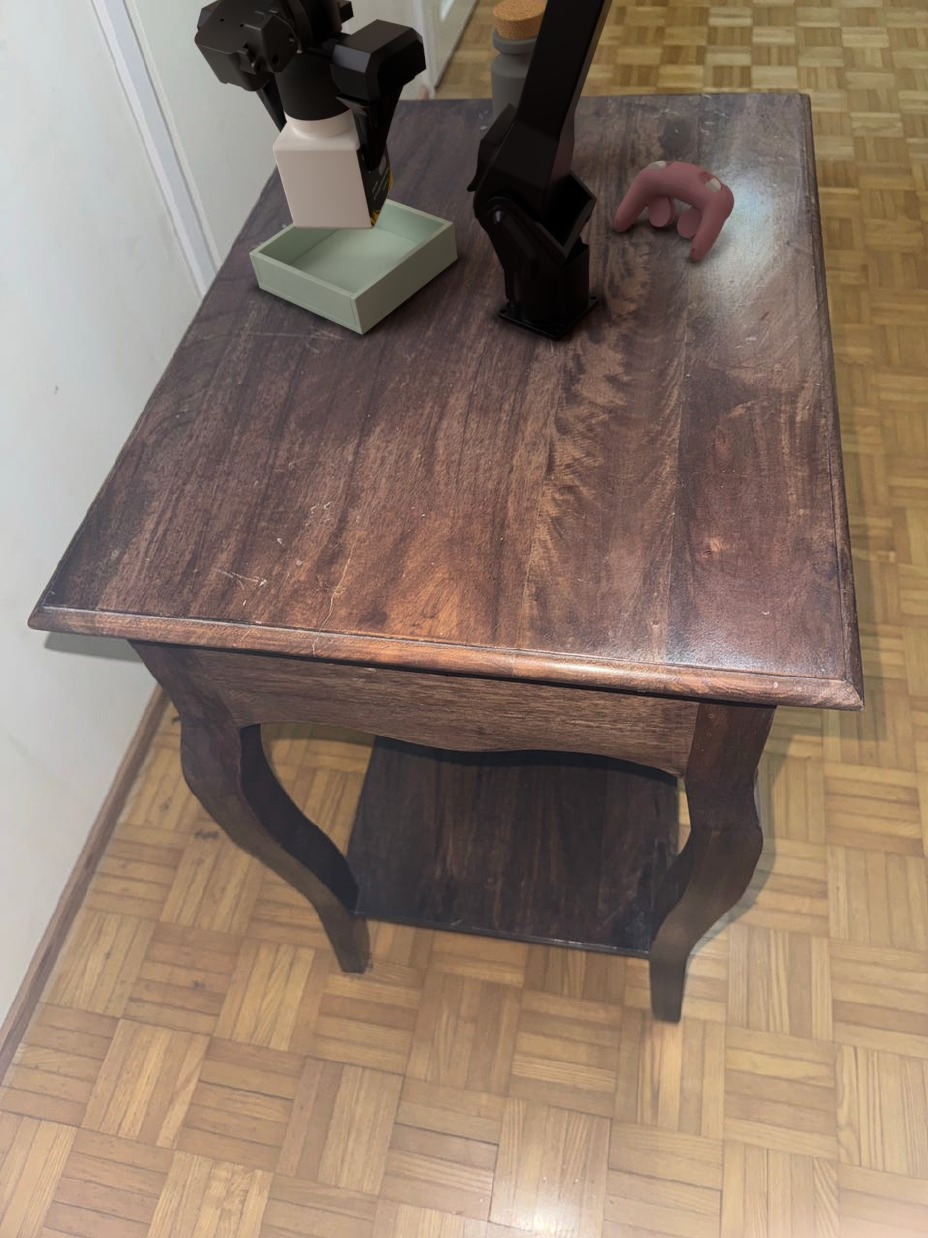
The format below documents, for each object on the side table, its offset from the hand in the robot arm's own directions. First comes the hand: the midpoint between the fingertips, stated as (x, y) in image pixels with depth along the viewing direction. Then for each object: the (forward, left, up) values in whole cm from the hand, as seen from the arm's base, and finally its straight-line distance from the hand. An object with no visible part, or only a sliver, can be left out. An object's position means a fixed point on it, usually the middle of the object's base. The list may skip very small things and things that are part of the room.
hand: (331, 154), depth 74 cm
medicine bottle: (0, 0, -5) cm, 5 cm away
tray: (+1, -1, -12) cm, 12 cm away
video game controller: (-21, -20, -12) cm, 31 cm away
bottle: (-3, -22, -12) cm, 26 cm away
